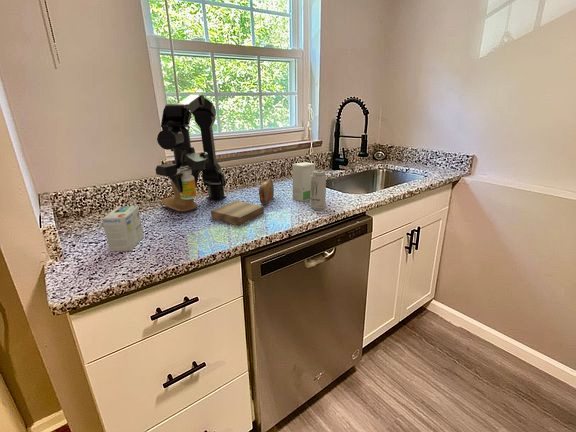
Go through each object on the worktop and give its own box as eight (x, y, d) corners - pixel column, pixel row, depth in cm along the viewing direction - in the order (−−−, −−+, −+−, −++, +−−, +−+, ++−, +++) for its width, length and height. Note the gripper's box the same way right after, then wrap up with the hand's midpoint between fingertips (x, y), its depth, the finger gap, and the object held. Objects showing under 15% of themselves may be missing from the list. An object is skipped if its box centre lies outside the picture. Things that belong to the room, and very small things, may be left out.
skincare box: (301, 202, 132) (302, 166, 127) (291, 199, 137) (291, 163, 131) (315, 198, 138) (316, 163, 132) (305, 195, 142) (305, 161, 137)
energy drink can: (307, 208, 125) (307, 171, 120) (316, 204, 129) (317, 169, 124) (318, 211, 122) (319, 174, 116) (328, 207, 126) (329, 171, 120)
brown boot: (206, 208, 127) (201, 172, 122) (178, 215, 119) (173, 177, 114) (187, 200, 137) (182, 166, 132) (161, 207, 129) (155, 171, 124)
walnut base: (211, 218, 116) (210, 210, 115) (236, 207, 127) (235, 200, 126) (240, 225, 109) (239, 217, 108) (264, 213, 120) (263, 206, 119)
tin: (265, 207, 127) (264, 187, 124) (258, 206, 128) (257, 187, 125) (274, 196, 141) (274, 178, 138) (267, 196, 142) (267, 177, 139)
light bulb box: (123, 237, 102) (116, 205, 98) (144, 236, 102) (138, 205, 98) (108, 252, 92) (100, 218, 88) (132, 251, 92) (125, 217, 88)
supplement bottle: (182, 200, 105) (178, 172, 102) (179, 196, 110) (175, 169, 106) (198, 198, 107) (194, 170, 104) (195, 194, 112) (191, 167, 108)
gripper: (174, 151, 91) (181, 201, 96) (219, 142, 105) (223, 187, 111) (150, 148, 96) (159, 196, 102) (196, 140, 111) (201, 182, 116)
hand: (187, 190), depth 108 cm, fingers closed on supplement bottle, 5 cm apart
